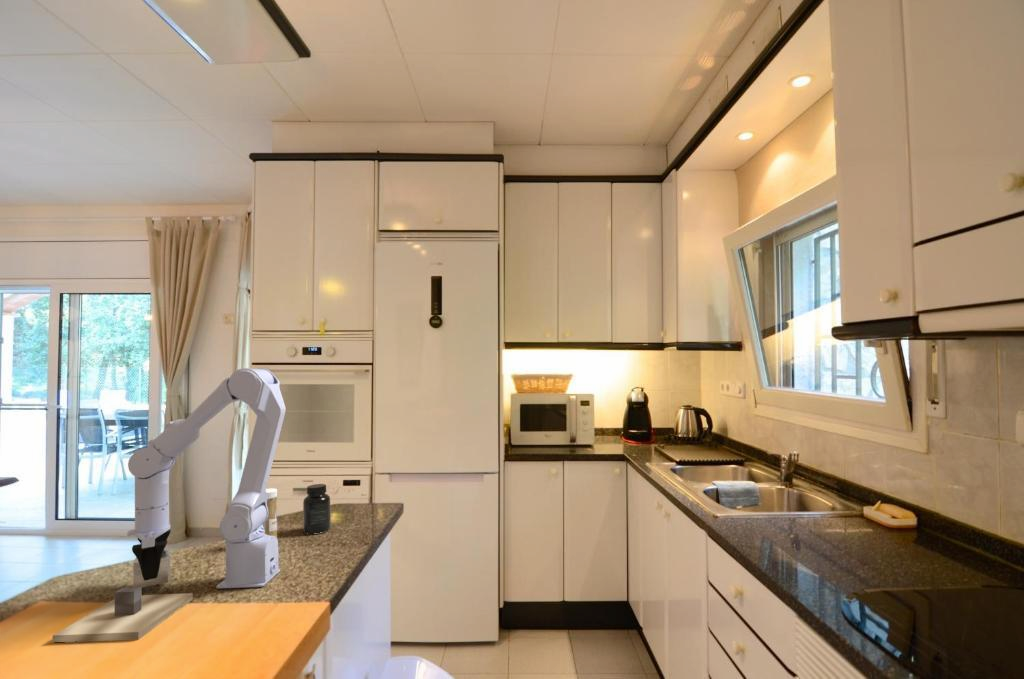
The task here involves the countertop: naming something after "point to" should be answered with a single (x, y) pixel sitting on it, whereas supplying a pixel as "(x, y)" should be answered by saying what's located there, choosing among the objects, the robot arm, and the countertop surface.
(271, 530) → the sprinkles bottle
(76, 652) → the countertop surface
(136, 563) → the hollow square tube
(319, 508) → the supplement bottle
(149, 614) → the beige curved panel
